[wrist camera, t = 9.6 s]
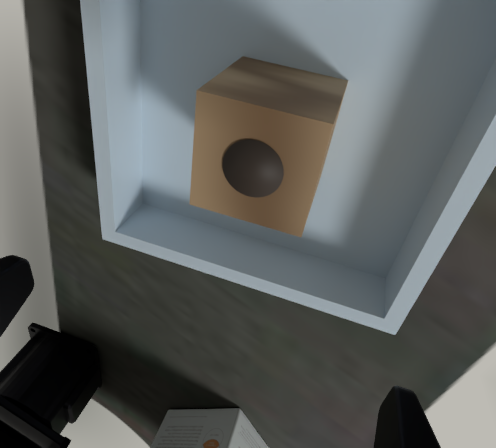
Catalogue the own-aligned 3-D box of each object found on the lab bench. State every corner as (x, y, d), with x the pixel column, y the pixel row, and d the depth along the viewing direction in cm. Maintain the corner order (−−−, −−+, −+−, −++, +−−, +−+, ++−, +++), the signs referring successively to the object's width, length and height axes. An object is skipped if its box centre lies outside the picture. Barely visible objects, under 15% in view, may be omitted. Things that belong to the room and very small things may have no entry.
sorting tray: (135, 205, 24) (102, 239, 21) (126, -140, 15) (65, -159, 12) (395, 285, 22) (395, 335, 19) (579, -62, 12) (630, -64, 10)
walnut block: (230, 152, 20) (189, 205, 16) (242, 56, 17) (196, 90, 13) (320, 176, 19) (301, 238, 15) (348, 80, 16) (333, 124, 12)
